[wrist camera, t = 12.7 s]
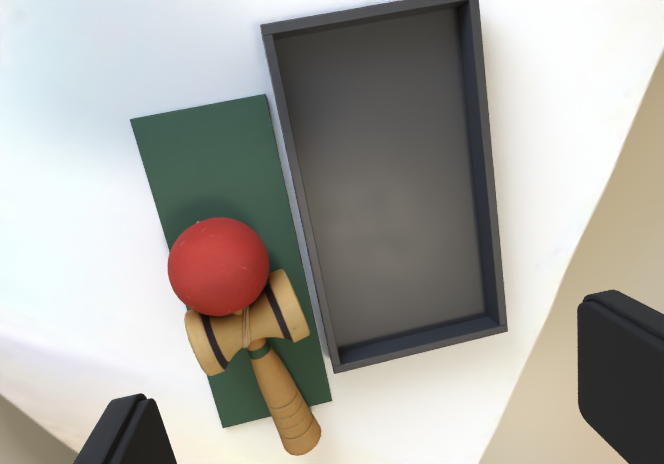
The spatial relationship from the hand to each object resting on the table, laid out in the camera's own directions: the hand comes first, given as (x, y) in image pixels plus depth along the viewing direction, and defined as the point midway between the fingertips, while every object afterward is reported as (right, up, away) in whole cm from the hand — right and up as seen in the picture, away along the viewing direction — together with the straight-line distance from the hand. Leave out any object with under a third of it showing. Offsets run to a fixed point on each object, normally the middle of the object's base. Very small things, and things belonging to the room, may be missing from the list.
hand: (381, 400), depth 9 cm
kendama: (-6, -3, +21) cm, 23 cm away
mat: (-7, +1, +20) cm, 22 cm away
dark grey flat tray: (+3, +6, +20) cm, 22 cm away
